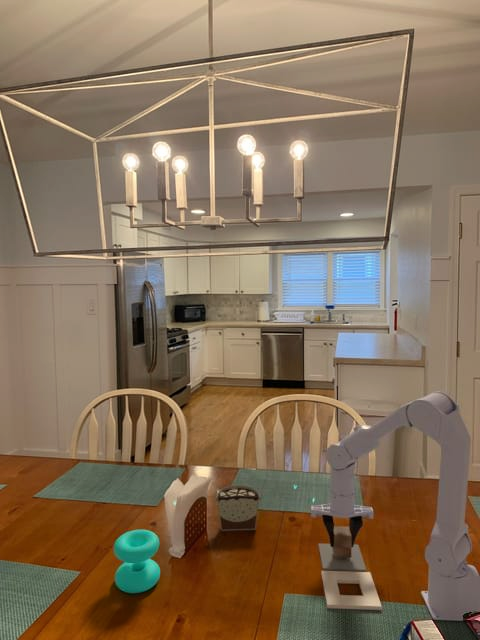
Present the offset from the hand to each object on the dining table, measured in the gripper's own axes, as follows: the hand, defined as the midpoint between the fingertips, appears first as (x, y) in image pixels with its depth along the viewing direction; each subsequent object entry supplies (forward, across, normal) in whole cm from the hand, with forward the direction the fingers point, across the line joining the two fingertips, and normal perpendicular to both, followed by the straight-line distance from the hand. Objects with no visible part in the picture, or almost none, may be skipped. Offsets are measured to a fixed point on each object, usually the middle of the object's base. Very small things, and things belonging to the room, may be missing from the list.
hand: (341, 544), depth 113 cm
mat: (+3, 0, 0) cm, 3 cm away
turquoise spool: (+4, +47, +11) cm, 48 cm away
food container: (+3, +26, -14) cm, 30 cm away
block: (+2, 0, 0) cm, 2 cm away
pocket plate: (+3, 0, +12) cm, 12 cm away
